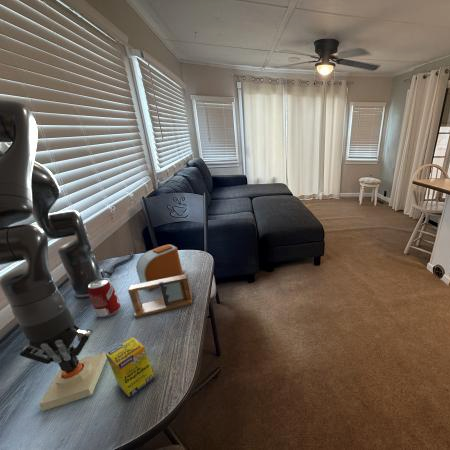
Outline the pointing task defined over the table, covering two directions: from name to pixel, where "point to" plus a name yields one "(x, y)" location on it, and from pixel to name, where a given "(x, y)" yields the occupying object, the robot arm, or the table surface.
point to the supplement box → (130, 366)
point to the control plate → (74, 383)
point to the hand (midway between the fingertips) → (71, 368)
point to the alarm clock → (159, 264)
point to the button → (72, 373)
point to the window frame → (159, 304)
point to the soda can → (103, 297)
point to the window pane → (172, 292)
